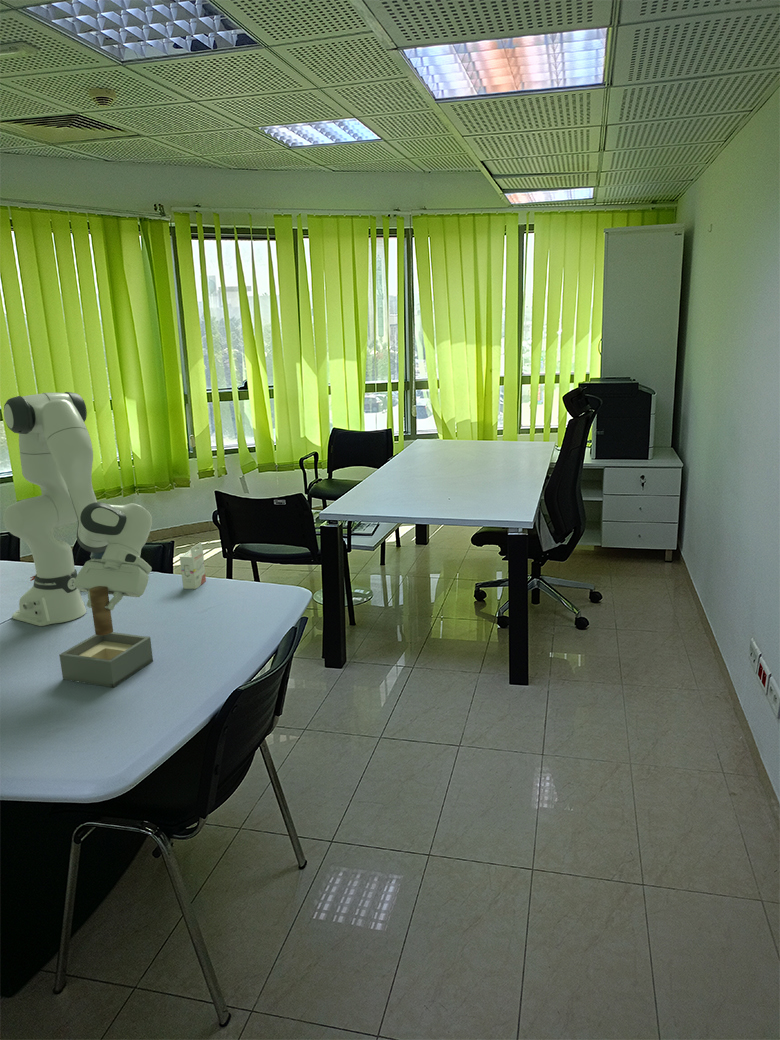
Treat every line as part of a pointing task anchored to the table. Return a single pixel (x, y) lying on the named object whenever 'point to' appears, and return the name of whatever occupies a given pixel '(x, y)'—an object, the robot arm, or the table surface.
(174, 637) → the table surface
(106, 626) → the peg
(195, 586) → the ink cartridge box
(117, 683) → the bore box
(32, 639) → the table surface
